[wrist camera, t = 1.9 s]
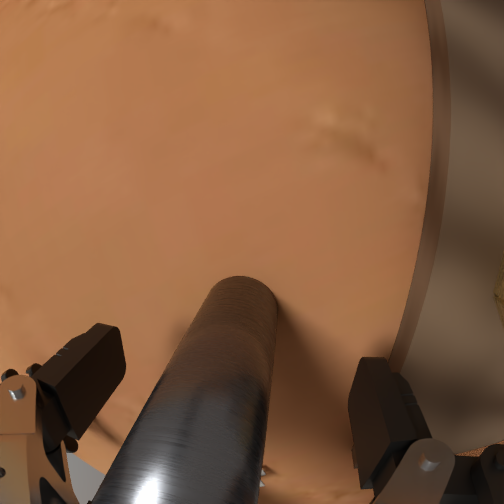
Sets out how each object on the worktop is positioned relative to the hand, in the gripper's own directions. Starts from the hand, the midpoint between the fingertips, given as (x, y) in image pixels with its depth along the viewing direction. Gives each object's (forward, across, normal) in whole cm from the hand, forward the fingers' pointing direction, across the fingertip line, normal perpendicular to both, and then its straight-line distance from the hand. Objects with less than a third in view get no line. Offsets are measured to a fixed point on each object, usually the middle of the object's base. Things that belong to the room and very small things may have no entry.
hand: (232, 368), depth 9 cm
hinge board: (+4, -14, -4) cm, 15 cm away
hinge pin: (+4, 0, 0) cm, 4 cm away
